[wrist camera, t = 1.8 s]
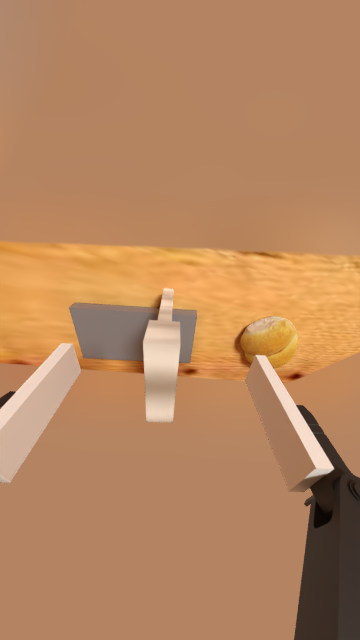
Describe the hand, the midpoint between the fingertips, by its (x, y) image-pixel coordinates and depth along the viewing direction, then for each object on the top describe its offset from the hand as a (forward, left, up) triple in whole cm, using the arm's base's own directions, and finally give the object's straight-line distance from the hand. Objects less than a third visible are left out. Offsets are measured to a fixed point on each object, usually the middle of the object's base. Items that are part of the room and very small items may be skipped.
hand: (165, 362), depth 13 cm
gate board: (-2, -8, -13) cm, 15 cm away
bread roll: (+17, -1, -13) cm, 21 cm away
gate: (+1, -4, -11) cm, 11 cm away
